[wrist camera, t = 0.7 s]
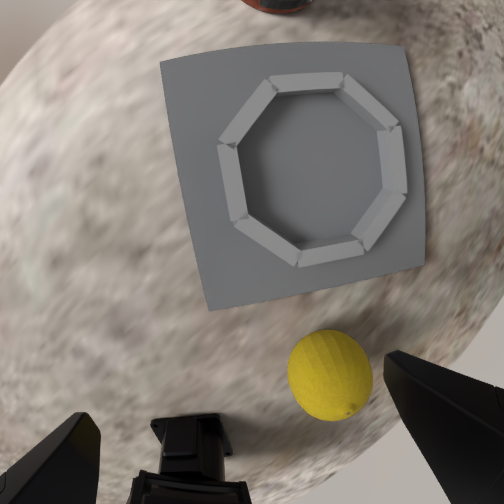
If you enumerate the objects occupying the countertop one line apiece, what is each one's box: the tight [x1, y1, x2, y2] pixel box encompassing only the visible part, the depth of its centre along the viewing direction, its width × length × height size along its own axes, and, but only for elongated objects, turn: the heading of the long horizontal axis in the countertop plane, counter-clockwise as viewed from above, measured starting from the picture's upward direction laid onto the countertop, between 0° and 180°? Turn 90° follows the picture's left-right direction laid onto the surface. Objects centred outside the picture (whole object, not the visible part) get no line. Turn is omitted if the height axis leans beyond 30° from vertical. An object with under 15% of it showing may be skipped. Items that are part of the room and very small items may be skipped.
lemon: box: [288, 330, 373, 421], centre depth 19 cm, size 6×6×8 cm
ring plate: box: [160, 42, 425, 311], centre depth 18 cm, size 16×16×3 cm
